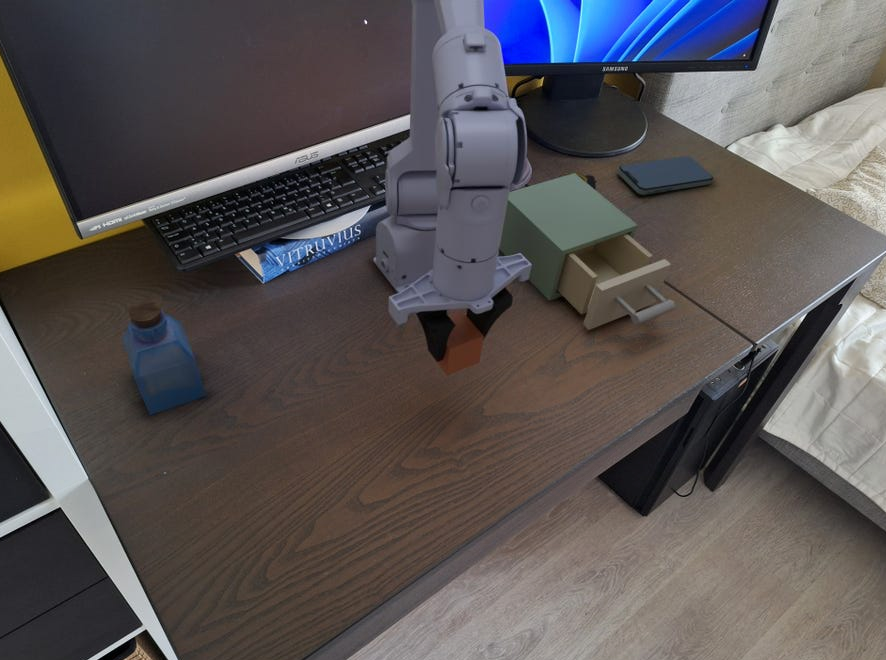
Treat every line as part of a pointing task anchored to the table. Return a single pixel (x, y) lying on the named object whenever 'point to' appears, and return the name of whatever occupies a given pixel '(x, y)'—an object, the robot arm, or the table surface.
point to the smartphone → (664, 175)
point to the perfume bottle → (161, 358)
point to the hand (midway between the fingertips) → (454, 347)
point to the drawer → (614, 282)
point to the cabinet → (558, 226)
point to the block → (461, 345)
